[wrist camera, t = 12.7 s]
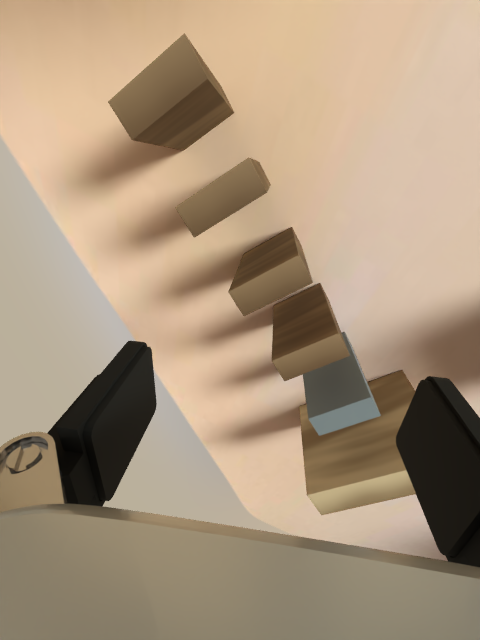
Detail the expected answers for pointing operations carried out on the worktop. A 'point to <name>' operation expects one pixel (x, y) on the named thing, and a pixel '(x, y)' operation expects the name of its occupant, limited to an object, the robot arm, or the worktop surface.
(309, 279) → the domino
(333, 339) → the domino
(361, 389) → the domino
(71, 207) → the worktop surface
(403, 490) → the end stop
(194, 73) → the domino
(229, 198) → the domino
